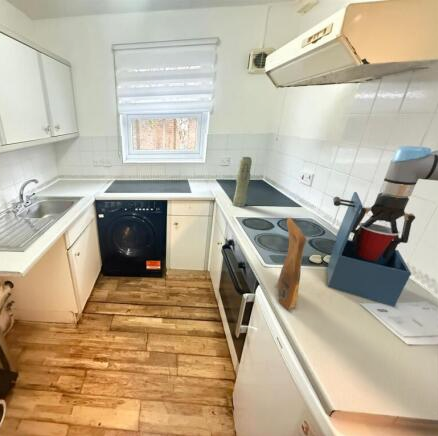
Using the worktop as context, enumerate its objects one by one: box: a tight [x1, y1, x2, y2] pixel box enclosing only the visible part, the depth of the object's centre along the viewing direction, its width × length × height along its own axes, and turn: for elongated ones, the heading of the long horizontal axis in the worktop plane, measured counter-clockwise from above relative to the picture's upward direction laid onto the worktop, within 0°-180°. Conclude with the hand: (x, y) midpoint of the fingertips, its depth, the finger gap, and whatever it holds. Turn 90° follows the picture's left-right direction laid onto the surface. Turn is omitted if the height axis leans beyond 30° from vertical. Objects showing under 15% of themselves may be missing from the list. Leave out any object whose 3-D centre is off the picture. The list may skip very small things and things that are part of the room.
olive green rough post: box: [232, 156, 253, 208], centre depth 171 cm, size 9×12×35 cm
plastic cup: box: [357, 222, 401, 261], centre depth 86 cm, size 11×11×12 cm
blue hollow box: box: [326, 238, 412, 308], centre depth 90 cm, size 19×18×14 cm
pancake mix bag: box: [277, 216, 308, 312], centre depth 81 cm, size 7×19×28 cm, turn 156°
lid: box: [332, 191, 363, 255], centre depth 90 cm, size 19×18×7 cm
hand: (368, 253), depth 88 cm, fingers closed on plastic cup, 8 cm apart
